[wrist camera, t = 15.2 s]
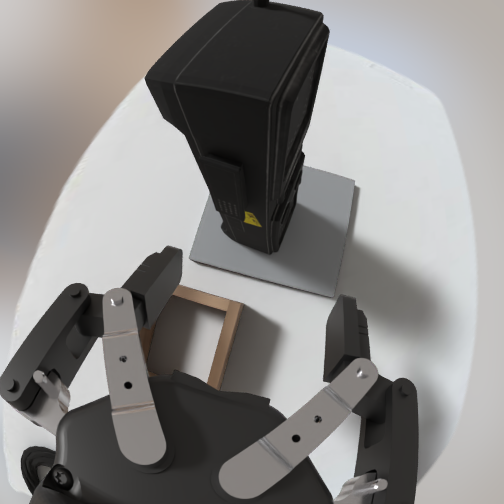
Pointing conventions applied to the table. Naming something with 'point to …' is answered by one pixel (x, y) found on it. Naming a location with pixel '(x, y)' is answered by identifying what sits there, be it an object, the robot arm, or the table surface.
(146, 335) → the walnut collar
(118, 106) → the table surface
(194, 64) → the portable radio
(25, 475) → the cable lock
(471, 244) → the table surface
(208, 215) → the slate mat
